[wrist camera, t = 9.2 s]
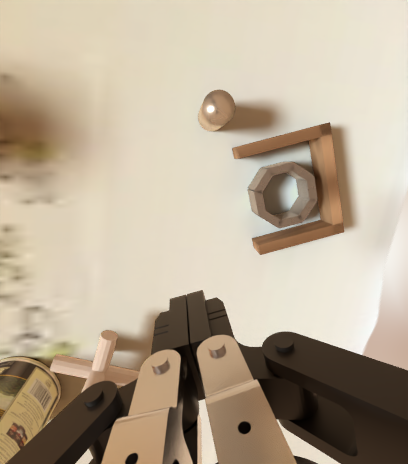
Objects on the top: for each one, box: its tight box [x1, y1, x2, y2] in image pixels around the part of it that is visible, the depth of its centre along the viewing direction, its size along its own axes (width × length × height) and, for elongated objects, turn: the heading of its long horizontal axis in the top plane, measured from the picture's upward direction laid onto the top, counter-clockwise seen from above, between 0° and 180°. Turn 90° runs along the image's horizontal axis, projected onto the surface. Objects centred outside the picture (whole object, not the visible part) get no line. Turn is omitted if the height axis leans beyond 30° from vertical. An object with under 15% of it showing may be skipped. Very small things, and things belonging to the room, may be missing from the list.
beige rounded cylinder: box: [198, 90, 235, 131], centre depth 29 cm, size 3×3×6 cm
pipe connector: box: [50, 330, 140, 393], centre depth 33 cm, size 10×10×10 cm
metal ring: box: [248, 162, 318, 228], centre depth 33 cm, size 7×7×3 cm
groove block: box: [232, 123, 344, 255], centre depth 33 cm, size 12×10×3 cm
